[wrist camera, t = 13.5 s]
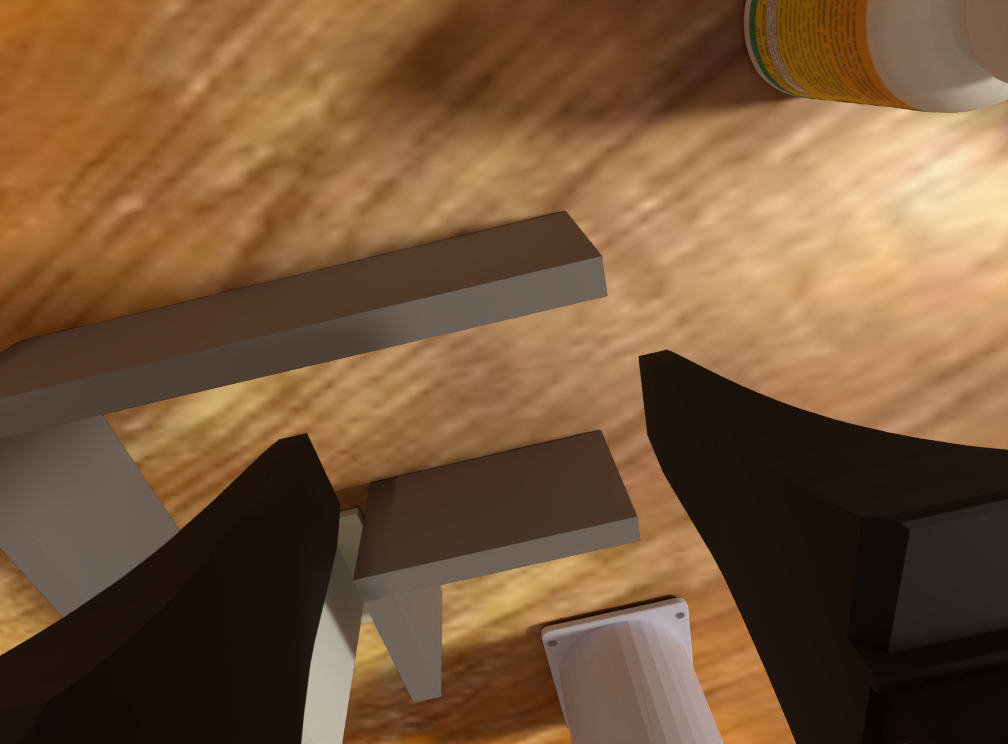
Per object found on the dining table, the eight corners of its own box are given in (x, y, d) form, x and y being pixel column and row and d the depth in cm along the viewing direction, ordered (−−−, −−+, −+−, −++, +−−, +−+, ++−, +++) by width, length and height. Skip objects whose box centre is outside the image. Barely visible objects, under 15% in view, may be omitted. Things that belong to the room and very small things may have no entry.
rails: (620, 552, 29) (655, 650, 24) (227, 640, 29) (184, 752, 25) (565, 211, 21) (601, 256, 16) (16, 342, 21) (-111, 424, 16)
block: (364, 601, 28) (336, 777, 21) (286, 617, 29) (233, 798, 21) (337, 544, 27) (297, 717, 20) (253, 561, 27) (184, 740, 20)
